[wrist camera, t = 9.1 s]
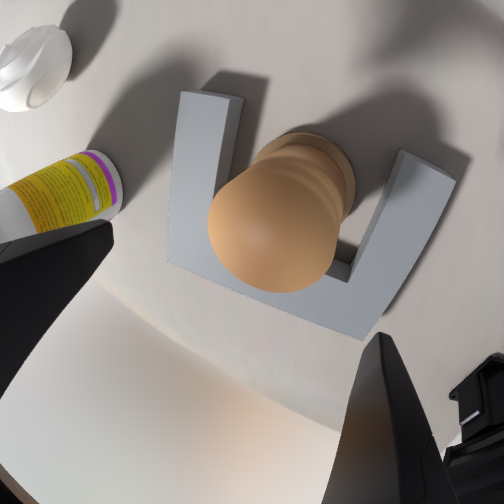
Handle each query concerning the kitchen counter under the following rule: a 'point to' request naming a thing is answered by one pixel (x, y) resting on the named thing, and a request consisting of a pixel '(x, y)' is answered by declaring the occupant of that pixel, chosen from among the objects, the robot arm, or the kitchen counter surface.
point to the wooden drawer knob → (283, 213)
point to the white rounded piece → (34, 68)
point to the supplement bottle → (61, 196)
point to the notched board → (339, 273)
